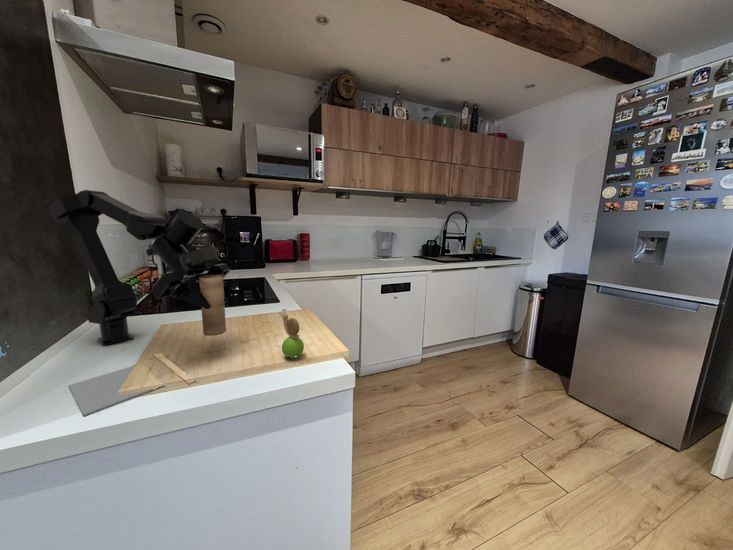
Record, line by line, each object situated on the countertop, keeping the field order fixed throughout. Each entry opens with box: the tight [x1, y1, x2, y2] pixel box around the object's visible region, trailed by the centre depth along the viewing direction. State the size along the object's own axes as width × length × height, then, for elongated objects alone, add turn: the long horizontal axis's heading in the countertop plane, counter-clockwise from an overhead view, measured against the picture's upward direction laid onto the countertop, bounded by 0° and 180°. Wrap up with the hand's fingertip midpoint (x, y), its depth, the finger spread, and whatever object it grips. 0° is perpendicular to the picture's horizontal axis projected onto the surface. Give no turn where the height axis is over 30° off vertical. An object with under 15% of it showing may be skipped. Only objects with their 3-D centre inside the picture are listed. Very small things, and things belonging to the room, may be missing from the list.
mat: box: [68, 364, 155, 418], centre depth 57 cm, size 14×12×1 cm
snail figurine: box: [281, 308, 305, 358], centre depth 71 cm, size 5×6×12 cm
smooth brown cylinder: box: [198, 275, 227, 337], centre depth 69 cm, size 5×5×14 cm
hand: (217, 305), depth 69 cm, fingers closed on smooth brown cylinder, 5 cm apart
